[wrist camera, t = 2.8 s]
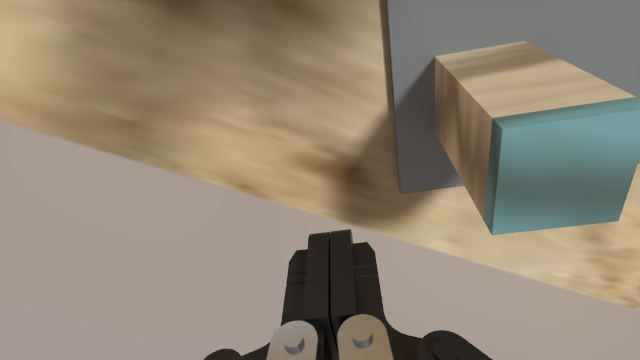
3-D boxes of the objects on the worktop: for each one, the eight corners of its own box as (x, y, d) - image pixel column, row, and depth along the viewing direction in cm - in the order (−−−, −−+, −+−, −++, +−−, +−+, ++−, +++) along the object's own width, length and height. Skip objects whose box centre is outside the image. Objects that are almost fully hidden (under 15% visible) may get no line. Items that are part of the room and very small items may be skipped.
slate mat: (384, -23, 20) (385, -22, 19) (832, -111, 17) (844, -112, 17) (399, 189, 27) (400, 193, 27) (713, 149, 25) (720, 152, 24)
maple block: (434, 56, 21) (502, 129, 13) (524, 41, 21) (657, 107, 12) (435, 133, 24) (492, 235, 16) (515, 121, 23) (618, 220, 15)
